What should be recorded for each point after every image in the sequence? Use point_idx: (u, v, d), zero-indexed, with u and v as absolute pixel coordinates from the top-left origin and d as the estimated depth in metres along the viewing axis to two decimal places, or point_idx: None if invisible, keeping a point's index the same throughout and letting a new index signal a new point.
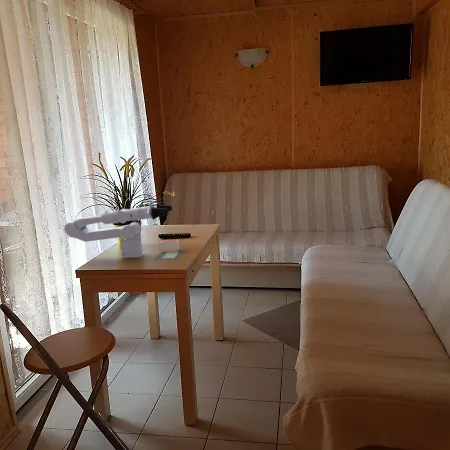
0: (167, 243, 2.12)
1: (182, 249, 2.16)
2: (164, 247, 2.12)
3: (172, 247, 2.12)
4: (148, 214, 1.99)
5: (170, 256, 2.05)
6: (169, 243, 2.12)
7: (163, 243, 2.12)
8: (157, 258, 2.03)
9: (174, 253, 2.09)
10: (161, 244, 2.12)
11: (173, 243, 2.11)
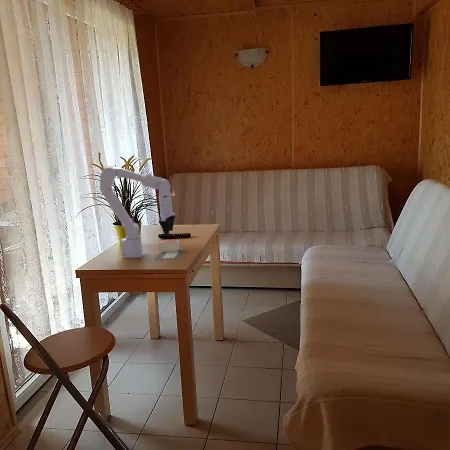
0: (167, 243, 2.12)
1: (182, 249, 2.16)
2: (164, 247, 2.12)
3: (172, 247, 2.12)
4: (163, 219, 2.04)
5: (170, 256, 2.05)
6: (169, 243, 2.12)
7: (163, 243, 2.12)
8: (157, 258, 2.03)
9: (174, 253, 2.09)
10: (161, 244, 2.12)
11: (173, 243, 2.11)
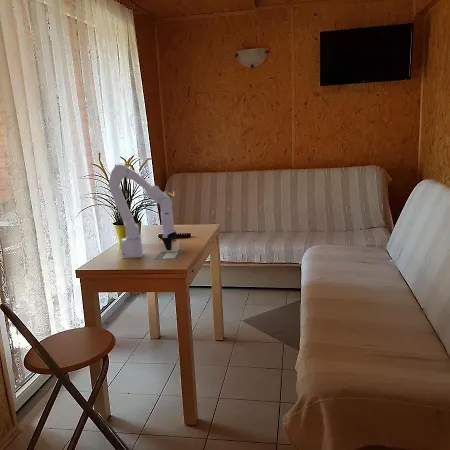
0: None
1: (182, 249, 2.16)
2: (164, 247, 2.12)
3: (172, 247, 2.12)
4: (165, 236, 2.06)
5: (170, 256, 2.05)
6: None
7: (163, 243, 2.12)
8: (157, 258, 2.03)
9: (174, 253, 2.09)
10: (161, 244, 2.12)
11: (173, 243, 2.11)
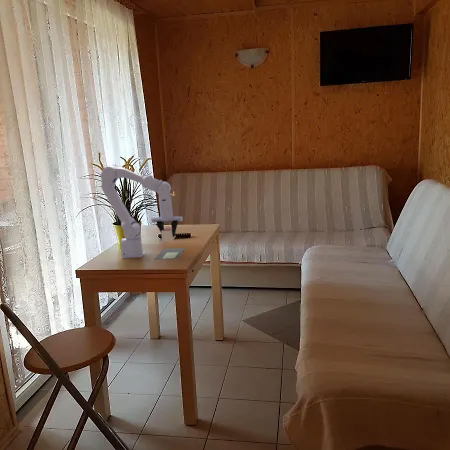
0: None
1: (182, 249, 2.16)
2: None
3: None
4: None
5: (170, 256, 2.05)
6: None
7: None
8: (157, 258, 2.03)
9: (174, 253, 2.09)
10: None
11: None
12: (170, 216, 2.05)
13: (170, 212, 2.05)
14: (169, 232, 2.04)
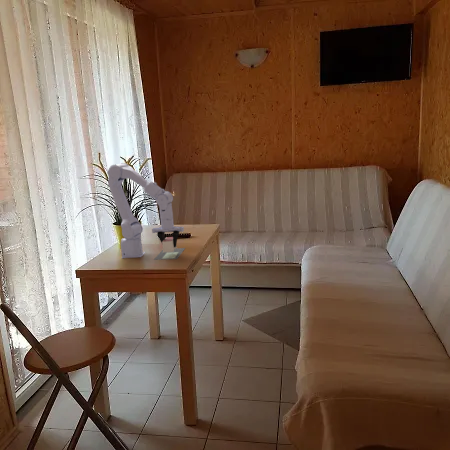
0: None
1: (182, 249, 2.16)
2: None
3: None
4: None
5: (170, 256, 2.05)
6: None
7: None
8: (157, 258, 2.03)
9: (174, 253, 2.09)
10: None
11: None
12: (171, 226, 2.02)
13: (171, 222, 2.02)
14: (170, 243, 2.01)
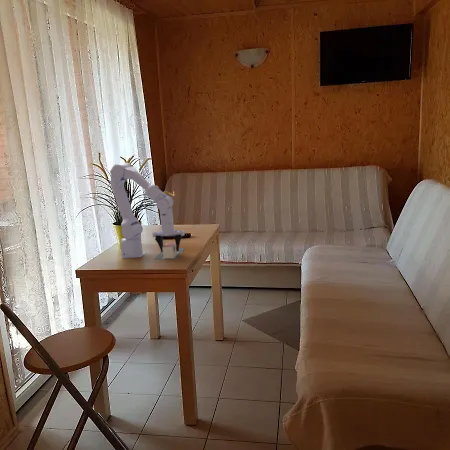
0: None
1: (182, 249, 2.16)
2: None
3: None
4: None
5: None
6: None
7: None
8: (157, 258, 2.03)
9: None
10: None
11: None
12: (171, 231, 2.02)
13: (171, 226, 2.02)
14: (170, 248, 2.02)
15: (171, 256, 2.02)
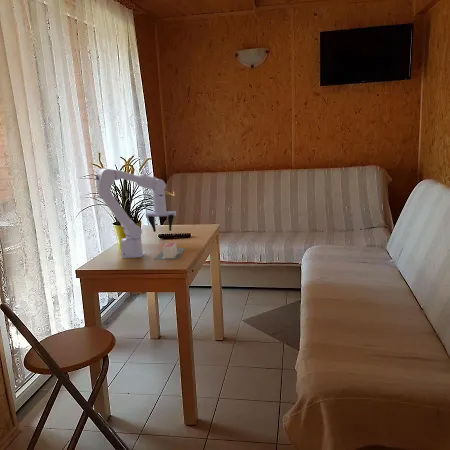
0: None
1: (182, 249, 2.16)
2: None
3: None
4: None
5: None
6: None
7: None
8: (157, 258, 2.03)
9: None
10: None
11: None
12: (164, 211, 2.13)
13: (164, 207, 2.13)
14: (170, 248, 2.02)
15: (171, 256, 2.02)
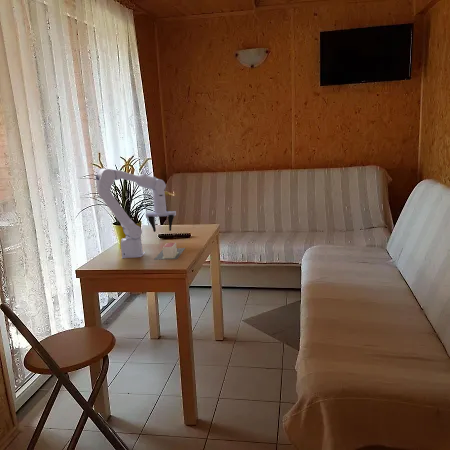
0: None
1: (182, 249, 2.16)
2: None
3: None
4: None
5: None
6: None
7: None
8: (157, 258, 2.03)
9: None
10: None
11: None
12: (164, 211, 2.13)
13: (164, 207, 2.13)
14: (170, 248, 2.02)
15: (171, 256, 2.02)
